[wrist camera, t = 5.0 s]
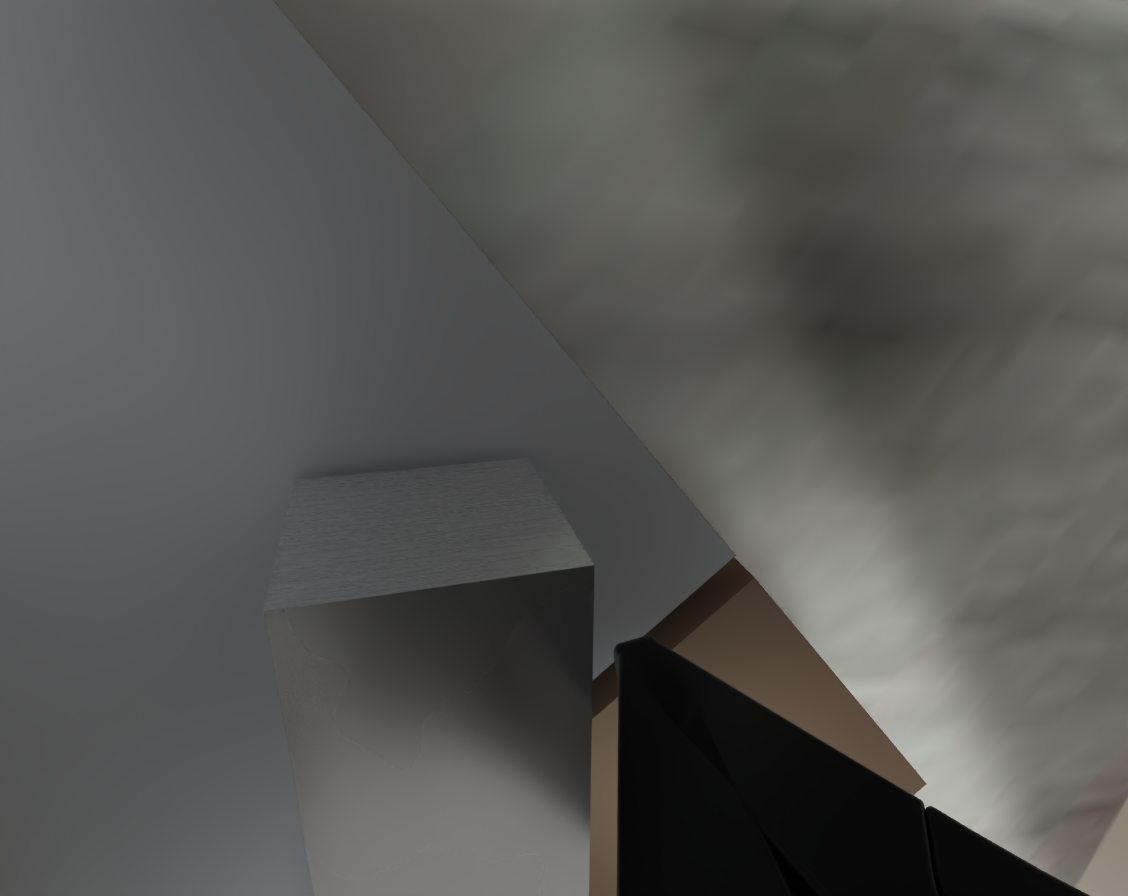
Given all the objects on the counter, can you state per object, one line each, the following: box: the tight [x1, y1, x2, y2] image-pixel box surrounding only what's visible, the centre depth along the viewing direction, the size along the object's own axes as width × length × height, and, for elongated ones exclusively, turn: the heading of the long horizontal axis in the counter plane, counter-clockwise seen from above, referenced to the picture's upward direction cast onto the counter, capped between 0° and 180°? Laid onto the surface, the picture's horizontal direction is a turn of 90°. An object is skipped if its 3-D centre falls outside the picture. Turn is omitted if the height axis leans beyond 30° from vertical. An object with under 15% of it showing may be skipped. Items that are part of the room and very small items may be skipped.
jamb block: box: [589, 557, 926, 896], centre depth 12 cm, size 12×6×4 cm, turn 128°
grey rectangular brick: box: [0, 0, 736, 896], centre depth 7 cm, size 12×12×7 cm
